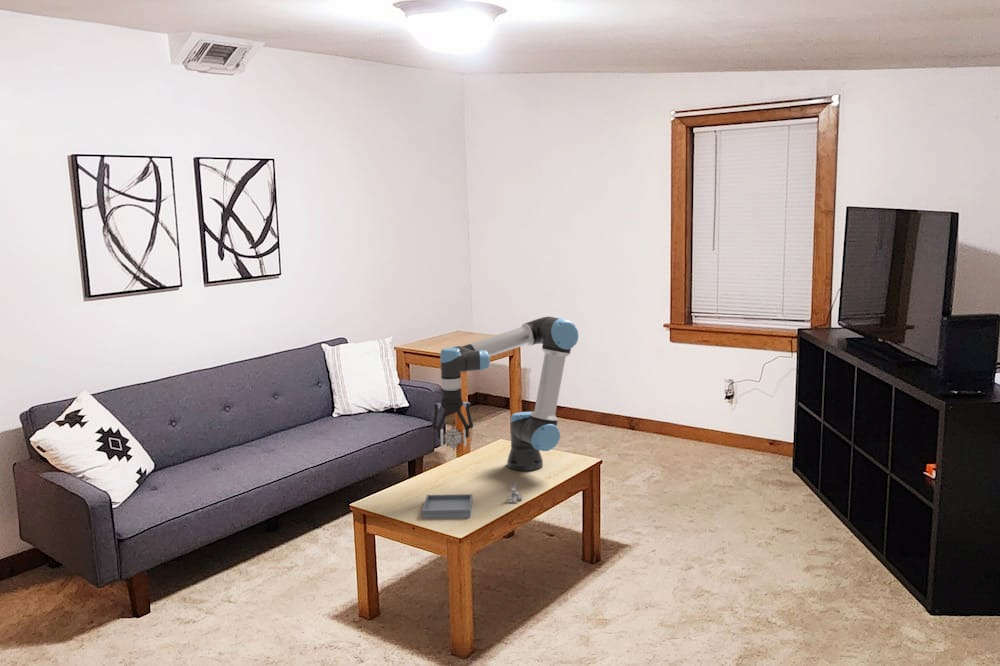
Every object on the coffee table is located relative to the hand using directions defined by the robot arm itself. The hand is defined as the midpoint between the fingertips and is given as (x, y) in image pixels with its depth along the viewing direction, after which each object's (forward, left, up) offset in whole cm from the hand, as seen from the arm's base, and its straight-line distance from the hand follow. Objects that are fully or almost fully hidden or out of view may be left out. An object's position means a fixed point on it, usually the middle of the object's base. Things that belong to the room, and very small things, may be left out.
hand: (453, 445), depth 321 cm
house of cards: (-25, +11, -20) cm, 34 cm away
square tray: (+1, +19, -19) cm, 27 cm away
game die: (0, 0, -2) cm, 2 cm away
